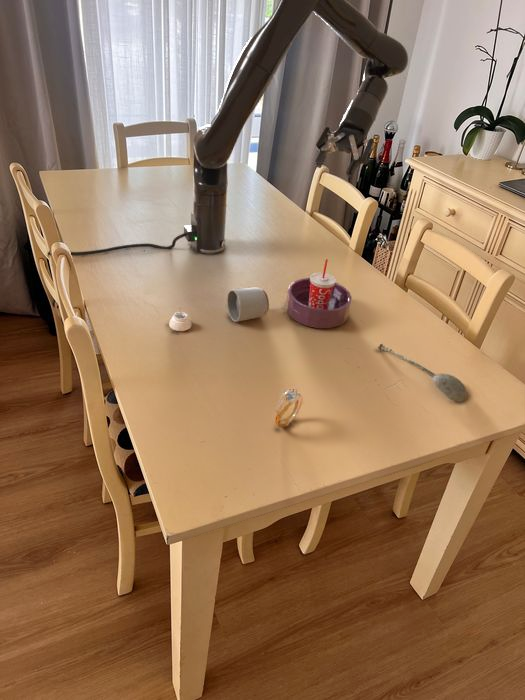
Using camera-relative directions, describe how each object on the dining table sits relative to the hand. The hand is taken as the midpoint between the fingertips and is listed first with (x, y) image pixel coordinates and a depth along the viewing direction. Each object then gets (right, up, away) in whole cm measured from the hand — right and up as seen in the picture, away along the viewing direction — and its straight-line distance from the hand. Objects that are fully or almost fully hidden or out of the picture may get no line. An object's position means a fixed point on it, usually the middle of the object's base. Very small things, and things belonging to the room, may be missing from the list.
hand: (332, 170), depth 132 cm
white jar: (-37, -41, -13) cm, 57 cm away
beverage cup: (-4, -36, -3) cm, 37 cm away
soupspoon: (+16, -51, -19) cm, 57 cm away
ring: (-14, -60, -35) cm, 71 cm away
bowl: (-5, -37, -3) cm, 37 cm away
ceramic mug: (-23, -37, -7) cm, 44 cm away
